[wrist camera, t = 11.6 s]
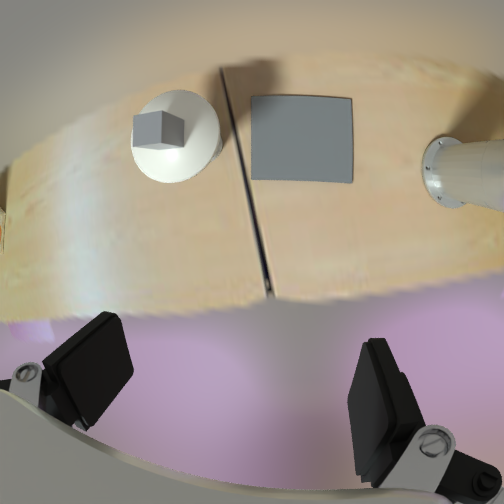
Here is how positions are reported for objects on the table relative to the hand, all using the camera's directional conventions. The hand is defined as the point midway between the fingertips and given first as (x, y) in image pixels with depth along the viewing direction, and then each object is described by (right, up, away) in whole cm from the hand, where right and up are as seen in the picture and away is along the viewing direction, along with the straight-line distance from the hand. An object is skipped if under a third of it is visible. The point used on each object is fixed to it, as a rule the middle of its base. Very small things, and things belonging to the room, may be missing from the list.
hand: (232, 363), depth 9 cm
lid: (-9, +19, +22) cm, 30 cm away
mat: (+9, +22, +30) cm, 39 cm away
